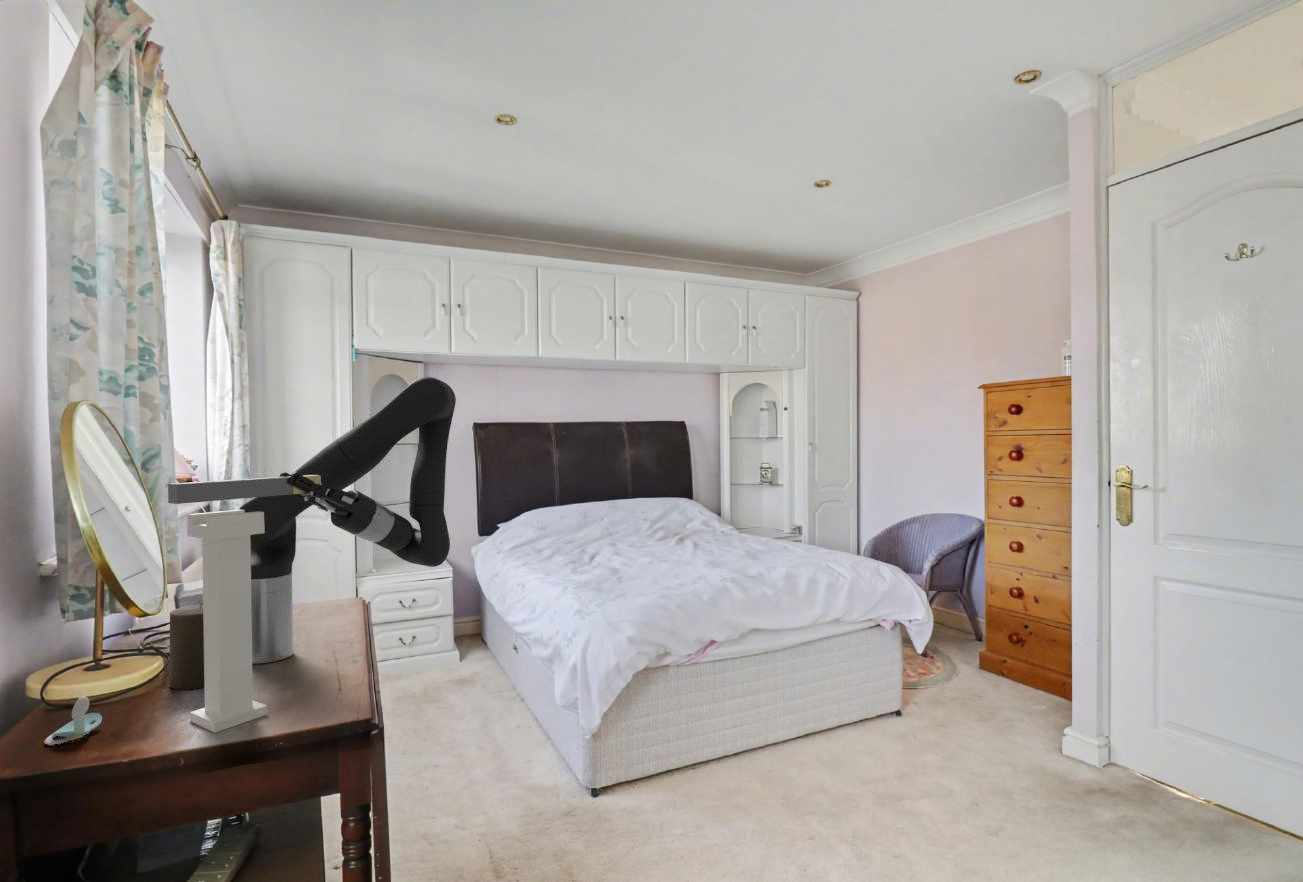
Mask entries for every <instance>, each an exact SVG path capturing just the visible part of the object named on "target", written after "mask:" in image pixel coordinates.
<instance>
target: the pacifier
mask: <svg viewBox="0 0 1303 882" xmlns="http://www.w3.org/2000/svg"><path fill="white" fill-rule="evenodd" d="M89 707H90V699H89V698H88V697H87V696H84V695H81V696H79V698H77V700H76V701H75V703H74V705H73V707H72V709H71V710H72V711H71V718H72V720H71V721H70V722H68V723H65V724H64V725H63V726H62V727H60V728H59V729H57V730H56V731H55V732H53V733H51V734H50V735H49V736H47V737H46V738H45V739H44V741H43V742H44V744H45V745H46V744H47V746H56V745H55V744H58V745H61V743H62V744H64V742H65V743H68V742H67V741H69V740H74V739H77V738H81V737H83V736H84V735H86V734H88V735H89V733H90V732H91V731H93V730H95V729H96V728H97V727H99V726H100V725H101V723H102V721H103V716H102V714H101V713H98V712H89V713H87V711H88V710H89ZM56 736H58V737H63V738H60V739H56V738H57V737H56ZM55 737H56V738H55ZM53 738H55V739H53Z"/></svg>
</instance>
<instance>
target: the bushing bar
mask: <svg viewBox="0 0 1303 882" xmlns="http://www.w3.org/2000/svg"><path fill="white" fill-rule="evenodd" d="M302 476H304V477H306V478H308V479H310V480H312V481H313V482H314V481H318V482H319V483H321V475H302ZM290 477H291V476H286V477H279V476H273V477H255V478H242V479H241V478H239V479H226V480H225V479H224V480H208V481H207V480H206V481H192V482H191V481H190V482H175V483H174V482H173V483H167V495H168V496H167V497H168V498H167V499H168V500H167V501H168V504H173V505H183V504H192V503H203V502H217V501H227V500H228V501H229V500H240V499H241V500H242V499H251V498H252V499H254V498H256V497H266V496H278V495H290V494H302V493H308V492H309V491H308V492H304V491H302V490H300V489H298V488H296V487H294V486H292V485H290V484H289V483H288V481H289V479H290Z"/></svg>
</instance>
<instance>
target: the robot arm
mask: <svg viewBox="0 0 1303 882" xmlns="http://www.w3.org/2000/svg"><path fill="white" fill-rule="evenodd" d="M456 401H457V398H456V394H455V392H454V390H453V388H452V387H451V386H450V385H449V384H448V383H446V382H444V381H443V380H440V379H438V378H436V377H431V376H423V377H419V378H416V379H415V380H413V381H412V382H411V383H409V384H408V385H407V386H406V387H405V388H403V389H402V390H401V392H398V394H397V395H396V396H395V397H394V398H393V399H392V400H391V401H390V402H388V403H387V404H386V405H385V406H384V407H382V408H381V409H380V410H378V411H377V412H376V413H374V414H373V415H371V416H370V417H367V418H366V419H365V420H363V421H362V422H360V423H359V424H356V425H355V426H354V427H353V428H351V429H350V430H348V431H347V432H345V433H344V434H342V435H341V436H339V437H338V438H337V439H335V440H333V441H332V442H331V443H330V444H328V445H327V446H326V447H324V448H323V449H321V450H320V451H319V452H318V453H316V455H314V456H313V457H310V459H309V460H307V461H306V462H305V463H303V464H302V465H301V466H300V467H299V468H297V469H296V470H295V471H294V472H292V473H291V474H290V473H288V472H286V471H285V472H284V471H283V472H281V473H280V474H279V476H278V477H286V476H291V477H290V479H289V481H288V483H289V484H290V485H292V486H294V487H296V488H298V489H300V490H302V491H304V492H308V491H309V492H308V493H302V494H290V495H278V496H266V497H254V498H252V499H250V500H248V501H247V502H245V503H244V504H242V505H241V507H239V508H238V510H244V512H245V513H248V512H258V511H260V512H264V531H265V533H262V534H254V535H250V545H251V613H252V665H254V664H255V665H256V664H258V665H259V664H267V663H273V662H277V661H281V660H284V659H288V658H290V657H291V656H292V655H293V654H294V624H293V623H294V622H293V621H294V620H293V619H294V617H293V615H294V614H293V612H294V611H293V608H294V607H293V573H292V572H293V563H294V560H295V557H296V551H297V547H296V546H297V517H298V516H299V515H300V514H302V513H303V512H305V511H306V510H307V509H308V508H311V507H312V506H314V507H317V509H318V510H321V511H323V512H326V513H327V512H328V511H329V512H330V521H331V523H332V525H334V527H337V528H339V529H341V530H343V531H345V532H347V533H349V534H351V535H353V536H355V537H358V538H359V539H362V540H364V541H368V542H370V543H373V544H375V545H378V546H379V547H382V548H384V549H386V550H389V551H390V552H391V553H392V554H394V555H395V556H396V557H398V558H399V559H401V560H403V561H406V562H408V563H410V564H415V565H420V566H425V567H429V568H430V567H431V568H432V567H435V568H436V567H438V566H440V565H442V564H443V563H444V562H445V561H446V559H447V558H448V556H449V554H450V553H449V552H450V547H451V543H450V542H451V539H450V535H449V534H450V533H449V530H448V524H447V519H446V515H445V511H444V510H445V496H446V495H445V492H446V491H445V490H446V466H447V452H448V442H449V439H450V437H449V436H450V431H451V427H452V422H453V417H454V413H455V408H456V403H457V402H456ZM417 429H418V443H417V450H416V455H415V459H414V463H413V467H412V472H411V477H410V486H409V505H408V508H409V509H408V510H409V516H410V518H412V519H413V520H414V521H416V522H417V523H418V524H419V525H418V526H419V529H417V528H415V527H413V525H412V523H411V521H409V520H408V519H407V518H405V517H403V516H402V515H400V514H398V513H396V512H395V511H393V510H391V509H389V508H388V507H387V506H385V505H384V504H382V503H381V502H379V501H377V500H375V499H374V498H372V497H370V496H368V495H366V494H364V493H362V492H360V491H358V490H357V489H351V490H347V491H345V489H346V488H347V487H349V486H351V485H353V484H355V482H357V481H359V480H360V479H361V478H362V477H364V476H365V475H366V474H368V473H369V472H371V471H372V470H373V469H375V467H377V465H378V464H380V463H381V462H382V460H383V459H385V458H386V456H387V455H388V454H389V452H391V450H392V449H393V448H394V447H395V445H396V444H398V442H400V441H401V440H402V439H403V438H405V437H406V436H408V435H409V434H411V433H413V432H414V431H415V430H417ZM302 475H321V483H319V482H318V481H314V482H313V481H312V480H310V479H308V478H306V477H304V476H302Z"/></svg>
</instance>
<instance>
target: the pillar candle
mask: <svg viewBox="0 0 1303 882" xmlns="http://www.w3.org/2000/svg"><path fill="white" fill-rule="evenodd" d="M198 603H199V604H193V605H186V606H182V607H178V608H175V609H173V610H171V611H169V671H168V673H169V678H168V679H169V680H168V684H169V687H170V688H171V689H173V690H179V691H180V690H182V691H183V690H187V691H188V690H196V689H197V690H198V689H205V688H204V622H203V604H201V602H200V601H199V602H198Z"/></svg>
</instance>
